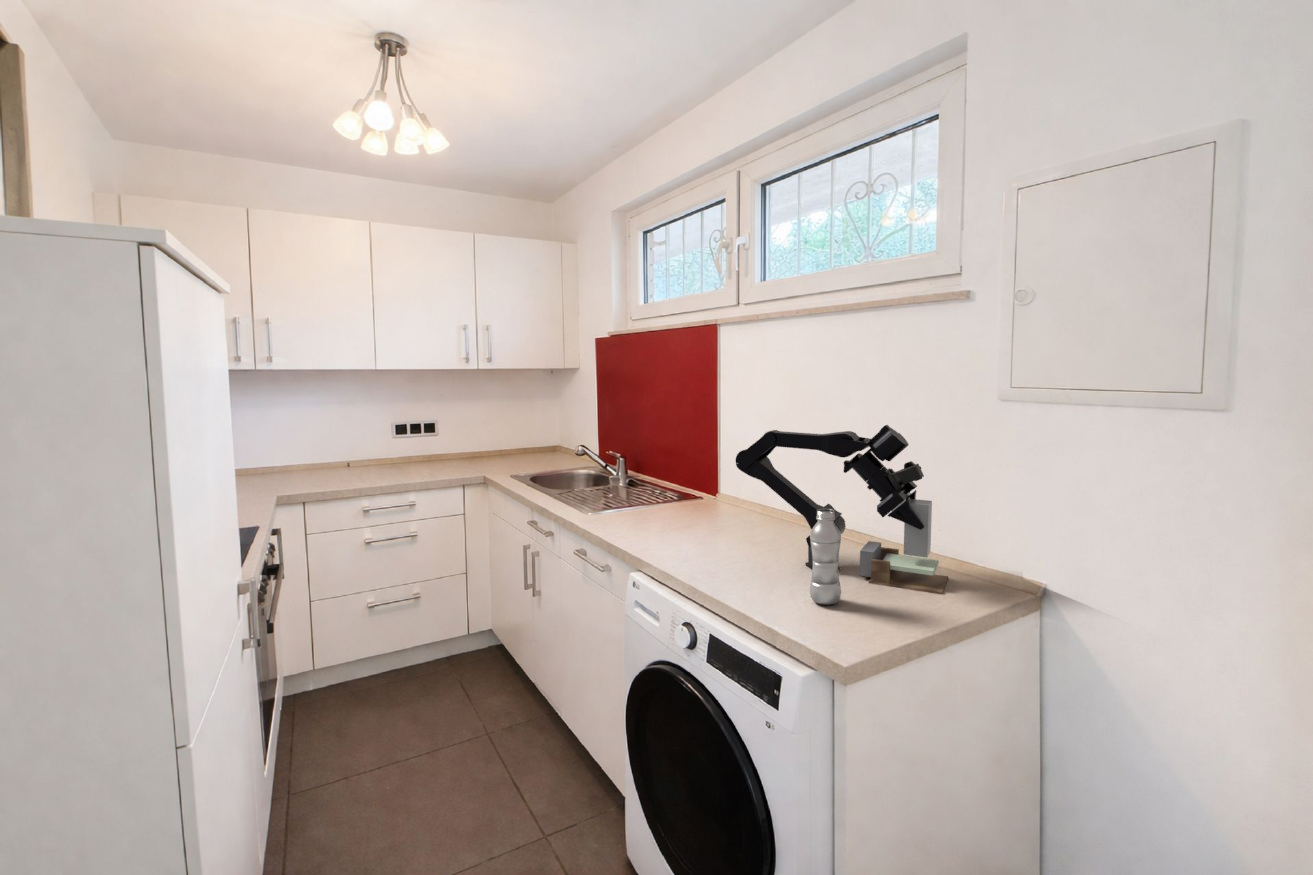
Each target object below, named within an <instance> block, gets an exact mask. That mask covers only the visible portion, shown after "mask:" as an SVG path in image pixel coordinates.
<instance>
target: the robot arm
mask: <svg viewBox="0 0 1313 875" xmlns="http://www.w3.org/2000/svg"><path fill="white" fill-rule="evenodd" d="M908 446H909V442H908V441H907V440H906V438H905V437H904V436H903V435H902V434H901V433H900V432H897V430H895V429H893V428H892V427H891V426H889V424H886V425H884V426H882V427H881V428H880V429H879V431H878V432H877V433H876V434H875V435H874V436H873V437H871V438H868V437H863V436H860V435H858V434H857V433H856V432H854V431H851V430H846V431H837V432H830V433H810V432H795V431H794V432H793V431H781V430H777V429H773V430H769V431H765V433H764V434H763V435H762V436H761V437H760V438H759V439H758V440H756V441H755V442H754V443H752V445H749V447H747V448H746V449H743V450H740V451H739V452H738V453H737V454H736V457H735V466H736V468H737V469H738V470H740V471H741V472H742V473H744V474H746V475H747V476H749V477H751V478H753V479H756V480H759V481H761V482H762V483H764V484H765V485H766V486H768V487H769V488H770V489H771V490H772V491H773V492H774V493H775V494H776V495H778V496H779V497H780V498H781V499H782V500H784V501H785V503H787V504H788V505H790V506H791V507H792V508H793V509H794V510H796V511H797V512H798V513H799V514H800V515H801V516H803V518H804V519H805V521H806V522H807V524H808V526H809V527H810V529H811V530H812V528H813V527H814V525H815V524H816V523H817V521H818V520H817V519H816V516H817V510H819V509H832V510H834V512H835V520H834V523H835V525H836V526H837V527H838V529H839V531H840V534H841V535H843V534H844V532H845V529H846V527H847V526H846V521H845V518H844V517H842V515H843V513H842V512H840V511H838V510H836V508H834V507H833V506H832V505H831V504H830V503H827V504H826V505H824V506H823V505H820V504H818V503H817V502H815V501H814V500H813V499H812V498H811V497H809V496H808V495H807V494H805V493H804V492H803V491H802V490H801V489H799V488H798V487H797V486H796V485H794V483H792V482H791V481H790V480H789V479H788V478H786V477H785V476H784V475H783V474H781V472H779V471H778V470H777V469H776V468H775V467H774V465H773V464H772V462H771V459H770V458H769V457H768V456H769V455H770V454H771V453H772V452H773V451H774V450H775V448H777V447H778V448H779V447H780V448H791V449H801V450H802V449H803V450H811V451H812V450H814V451H820V452H822V453H825V454H828V455H831V456H835V457H839V458H847V457H850V456H852V455H854V454H856V453H857V452H862V451H863V450H865V449H867V448H869V449H868V450H867V451H865V453H863V454H862V453H857V454H856V455H854V456H853V457H851V459H850V460H848V459H847V460H844V461H843V473H845V474H847V473H848V472H850V471H851V470H852V469H853V471H854V472H855V473H856V474H857V475H858V476H859V477H860V478H861V479H862V480H863V481H864V482H865V483H866V484H867V486H866V487H867V489H868V490H869V491H871V490H872V491H873V492H875V494H876V495H877V496H878V497H879V498H880V500H879V503H878V504H877V505H876V512H877V513H878V514H879V515H880V516H881V517H882V518H884V517H886V516H887V517H889V518H890V517H891V518H893V519H895V520H897V521H900V522H903V523H907V524H909V525H911V526H913V527H915V528H918V529H920V530H921V529H923V528H924V525H923V524H922V522H921V521H920V519H919V518H918V517H917V515H916V514H915V512H914V511H913V510H912V508H911V507H910V499H917V498H916V497H917V490H916V488H917V487H918V485H917V484H916V483H915V482H917V481H920V480H922V479H923V478H924V477H925V475H924V473H923V470H922V467H921V466H920V464H919V463H914V462H913V460H910V461H908V462H906V463H904V465H903V468H901V469H900V470H897V471H894V470H893V468H890V467H888V468H887V467H886V466H885V465H884V464H883V463H882V462H884V461H887V462H891V461H892V460H893V459H895V458H896V457H897V456H898V455H899V454H900V453H902V451H904V450H905V449H906V448H907V447H908ZM913 490H914V491H913ZM805 540H806V541H805V542H806V543H807V549H808V551H807V554H808V558H807V560H808V561H806V562H805V564H804V565H805V566H806V567H808V568H809V569H811V570H812V569H813V559H812V548H811V541H810V534H809V535H808V536H807V537H806V538H805ZM839 560H840V559H839ZM839 560H838V571H841V567H839V564H840V563H839Z"/></svg>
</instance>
